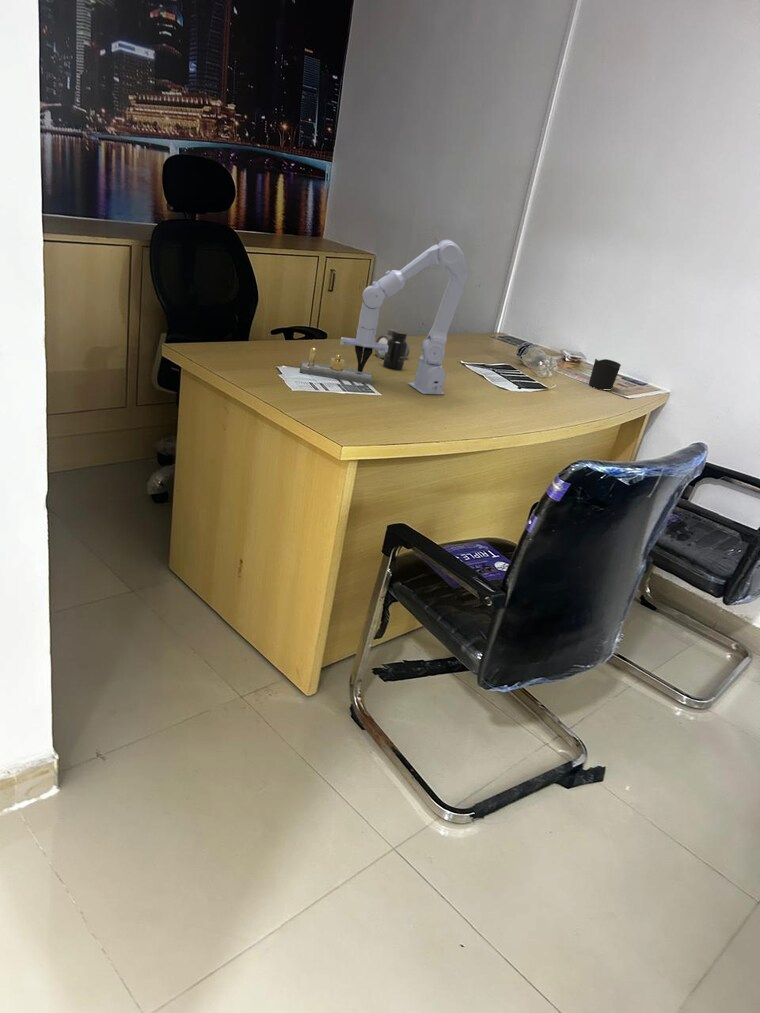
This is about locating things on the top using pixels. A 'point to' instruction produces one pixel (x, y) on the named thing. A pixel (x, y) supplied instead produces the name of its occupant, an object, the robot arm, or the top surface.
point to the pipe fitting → (383, 340)
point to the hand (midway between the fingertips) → (359, 371)
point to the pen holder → (604, 374)
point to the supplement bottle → (396, 351)
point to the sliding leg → (337, 363)
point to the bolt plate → (334, 371)
